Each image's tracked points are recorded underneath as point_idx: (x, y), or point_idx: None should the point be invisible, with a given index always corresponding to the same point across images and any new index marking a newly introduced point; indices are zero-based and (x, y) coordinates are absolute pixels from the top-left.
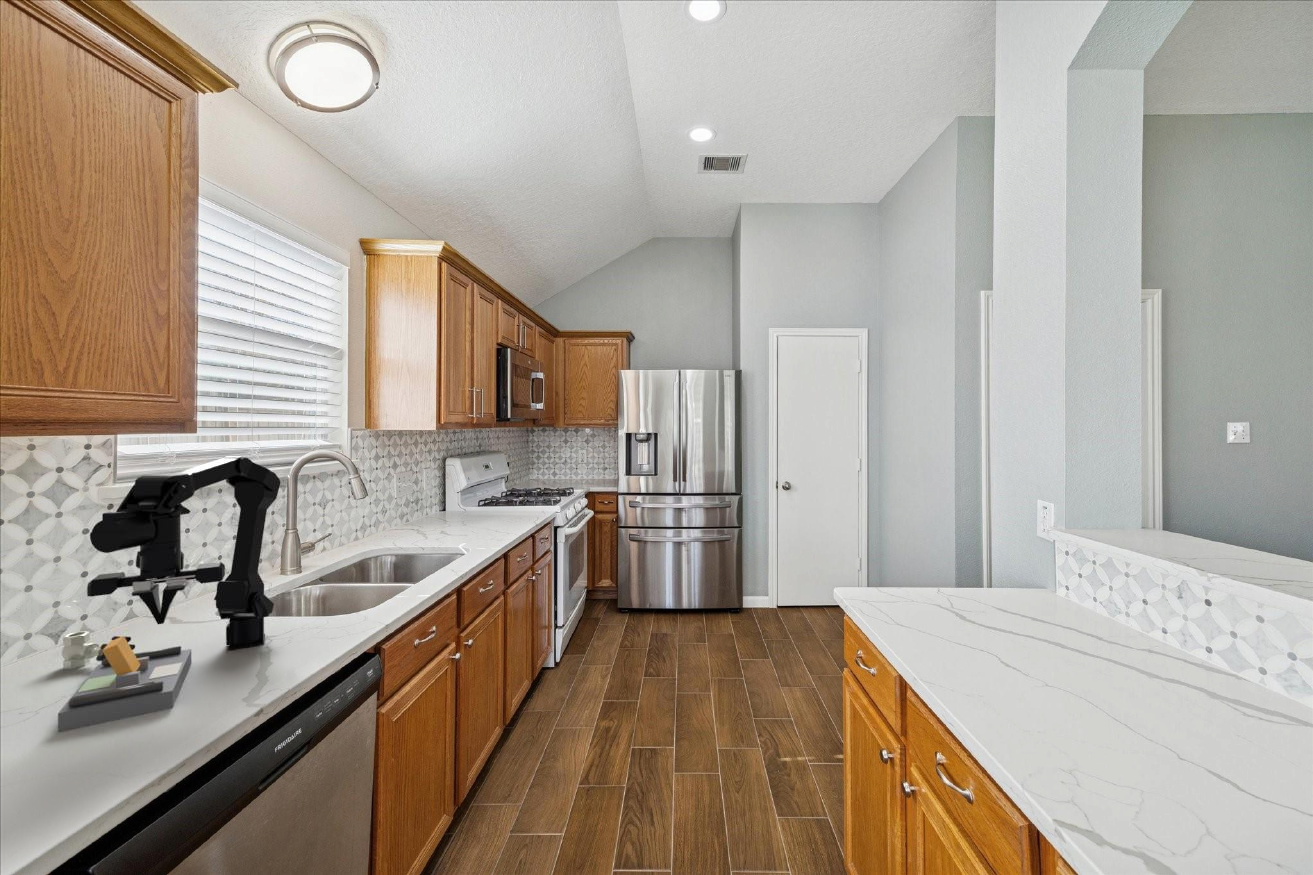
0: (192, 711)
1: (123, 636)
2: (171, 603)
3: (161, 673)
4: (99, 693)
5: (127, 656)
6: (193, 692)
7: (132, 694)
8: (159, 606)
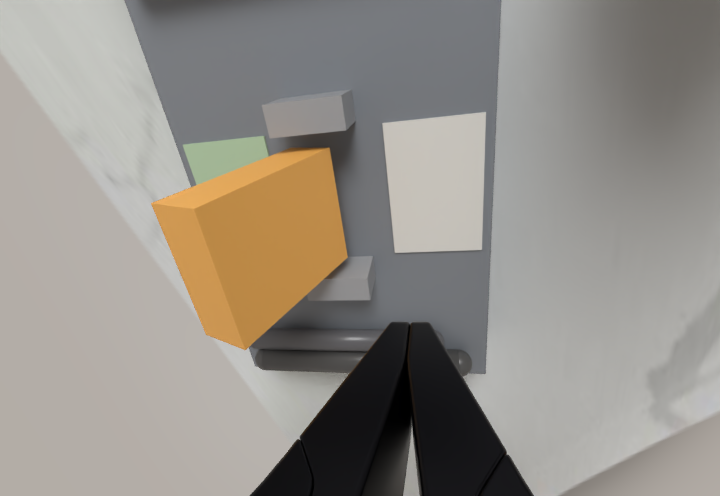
0: (526, 378)
1: (199, 216)
2: (510, 465)
3: (425, 217)
4: (310, 364)
5: (296, 261)
6: (522, 264)
7: None
8: (386, 487)
